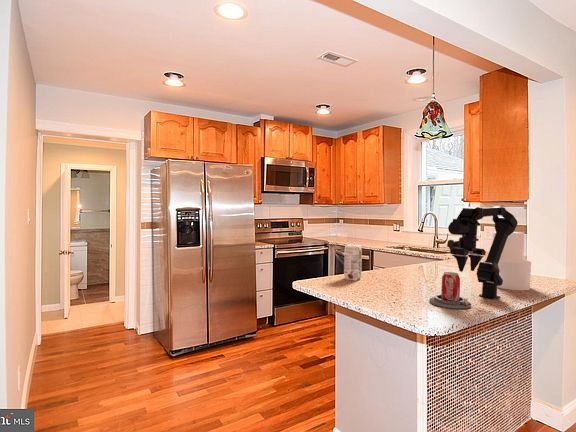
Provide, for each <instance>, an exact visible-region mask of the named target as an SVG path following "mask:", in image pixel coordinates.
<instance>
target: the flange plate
mask: <svg viewBox="0 0 576 432" xmlns="http://www.w3.org/2000/svg"><path fill="white" fill-rule="evenodd" d="M468 299H469V298H466V297H462V296H460V298H459V301H447V300H443V299H442V297H441V293H439V294H434V296H433V297H430V298H429V300H428V301H429V303H430V304H431V305H433V306H435V307H438V308H442V309H447V310H467V309H471V308H472V303H471V301H468Z"/></svg>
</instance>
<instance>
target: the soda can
mask: <svg viewBox="0 0 576 432" xmlns="http://www.w3.org/2000/svg"><path fill="white" fill-rule="evenodd" d="M440 288H441V293H440V294H441V297H442V299H443V300H447V301H459V298H460V297H461V295H460V294H461V291H460V290H461V277H460V276H459V273H457V272H452V271H444V272H443V275H442V277H441V287H440Z"/></svg>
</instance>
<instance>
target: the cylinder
mask: <svg viewBox="0 0 576 432" xmlns="http://www.w3.org/2000/svg"><path fill="white" fill-rule="evenodd" d="M495 235H496V231H493V232H492V241H493V240H494V237H495ZM524 253H525V232H523V231H522V232H520V231H519V232H518V231H514V232H513V233H512V234H510V235H509V236H508V238H507V240H506V243H505V246H504V249H503V251H502V254H501V257H500V260H499V262H498V267H499V270H500V272H499V275H500V277H501V278H502V280H503V283H502V285H501V286H497V288H500V289H504V290H505V289H506V290H511V291H529V290H530V289H531V274H532V273H531V272H532V261H531V260H528V259H525V258H524V256H525V254H524Z"/></svg>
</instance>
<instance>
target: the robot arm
mask: <svg viewBox="0 0 576 432" xmlns="http://www.w3.org/2000/svg"><path fill="white" fill-rule="evenodd" d="M484 217H485V218H486V217H492V222H493V223H494V229H495V232H496V235H495V237H494V240H493V239H492V243H491V246H490V248H489V251H488V253H486V252H487V251H486V250H485V249H484V248H478V247H477V242H479V241H480V240H479V238H478V237H477V236H478V227H480V226H482V225H481V223H479V220H482V219H483V218H484ZM518 223H519V222H518V220H517V219H516V217H515V215H513V213H511V212H510V211H508V210H507V209H506V208H505V207H504V206H491V207H478V206H464V207H462V209H461V211H460V212H459V214H458V216H457V217H456V218H453V219H452V221H451V222H450V223H449V225H448V227H447V228H448V229H447V230H448V232H449V233H450V234H451V235H453V236H461V237H459V239H458V240H456V241H455V240H453V239H449V240H447V245H446V247H448V249H449V254H451V256H452V257H454V259H455V260H456V263H457V267H458V270H459V272H461V273H463V271H464V269H465V267H466V263H467V261H468V258H469V260H470V261H469V262H470V271H471V272H475V270H476V278H477V282H478V283H482V288H481V294H478V296H479V297H483V298H486V299H491V300H495V299H499V298H501V296H500V295H498V287H497V286H501V285H502V283H503V280H502V278H501V277H500V275H499V272H500V270H499V267H498V262H499V260H500V257H501V254H502V251H503V249H504V246H505V243H506V240H507V238H508V236H509V235H510V234H512V233H513V232H515V230H516V229H517V226H518ZM486 254H487V257H486V259H485V260H484V261H482V260H483V258H484V256H486ZM477 266H478V267H477ZM476 268H477V269H476Z"/></svg>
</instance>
